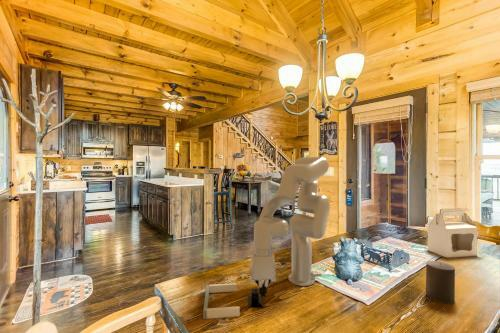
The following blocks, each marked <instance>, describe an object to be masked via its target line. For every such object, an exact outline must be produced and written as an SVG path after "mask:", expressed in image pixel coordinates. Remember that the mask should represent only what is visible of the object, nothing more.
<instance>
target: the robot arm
mask: <svg viewBox="0 0 500 333" xmlns="http://www.w3.org/2000/svg"><path fill="white" fill-rule="evenodd" d="M329 163H330V162H329V161H328V159H327V158H325V157H323V156H303V157H299V158H297V159H296V160H295V162H294V164H290V165H287V166H286V168H285V169H284V172H283V174H282V177H281V181H280V184H279V185H278V189H277V192H276V193H275V194H274V195H273V196H272V197H271V198H270V199H269V200H268V201H267V202H266V204H264V206H263V207H262V210H261V213H260V215H259V218H258V220H256V221H255V222H254V224H253V252H252V254H251V258H250V270H249V271H250V277H249V282H250V283H254V284H257V286H258V292H259V294H261V297H262V298H266V295H267V294H268V293H267V292H268V287H269V284H271V283H272V282H276V281H277V278H276V276H277V274H276V260H275V255H274V252H276V250H277V249H276V247H273V239H274V238H284V237H286V236H287V235H288V233H289V232H290V238H291V273H290V274H289V275H288V281H289V283H291V284H293V285H296V286H299V287H300V286H301V287H308V286H312V285H314V284H315V282H316V279H315V278H316V277H317V278H318V277H322V276H323V275H322V272H320V271H317V270H312V269H313V268H312V263H313V261H312V251H313V250H312V248H313V246H312V245H313V244H312V241H311V238H312V239H315V240H321V239H323V237H324V236H325V234H326V231H327V227H328V219H329V215H330V211H331V210H330V209H331V202H330V200H329V198H328V197H327V196H326V195H323V194H318V191H319V190H318V188H319V183H318V180H319V179H320V178H321V177H323V176H324V175H326V174H327V172H328V170H329V166H330V165H329ZM298 190H299V192H298ZM297 195H298V197H297V203H296V207H297V208H296V209H297V210H298V211H300V212H302V213H306V214H312V215H313V216H312V215H311V216H310V215H305V214H295V215H292V217H290V220H289V223H288V221H287V220H285V219H282V218H278V217H274V214H275V213H276V211H277V210H278V209H279V208H281V207H283V206H285V205H288V204H290V203H292V202H294V201H295V199H296V196H297ZM262 281H263V283H262Z"/></svg>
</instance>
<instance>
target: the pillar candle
mask: <svg viewBox="0 0 500 333" xmlns="http://www.w3.org/2000/svg"><path fill="white" fill-rule="evenodd" d="M425 267H426V269H425V270H426V271H425V277H426V278H425V295H426V296H427V297H428V298H430V299H431V300H433V301H435V302H438V303H443V304H453V303H455V298H456V296H455V293H456V291H455V290H456V289H455V288H456V285H455V284H456V281H455V280H456V272H455V271H456V268H455V266H453V265H451V264H450V263H446V262H442V261H436V260H428V261H426V266H425Z"/></svg>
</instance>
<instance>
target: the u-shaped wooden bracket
mask: <svg viewBox="0 0 500 333" xmlns="http://www.w3.org/2000/svg"><path fill="white" fill-rule="evenodd" d="M228 292H237V283H236V282H234V283H218V284H217V283H216V284H206V286H205V294H204V303H203V314H202V315H203V318H202V319H203V320H205V319H208V320H209V319H220V318H222V319H223V318H233V317H234V318H235V317H240V314H241V312H240V309H241V308H240V306H239V305H238V306H228V307H227V306H224V307H223V306H222V307H211V308H210V307H209V297H210V294H213V293H214V294H215V293H228Z"/></svg>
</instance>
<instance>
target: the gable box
mask: <svg viewBox="0 0 500 333" xmlns="http://www.w3.org/2000/svg"><path fill="white" fill-rule="evenodd" d="M444 217H458V219H457V221H447V222H446V221H445V220H444ZM427 251H429V252H431V253H434V254H436V255H439V256H441V257H444V258H458V257H461V258H462V257H463V258H464V257H475V256H478V227H477V225H476V224H475V222H473V220H472V218H470V216H469V215H468V214H467V213H466V210H464V208H459V207H458V208H441V209H440V210H439V213H437V214H435V215H434V216H433V217H432V219H430V220H429V222H428V223H427Z"/></svg>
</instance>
